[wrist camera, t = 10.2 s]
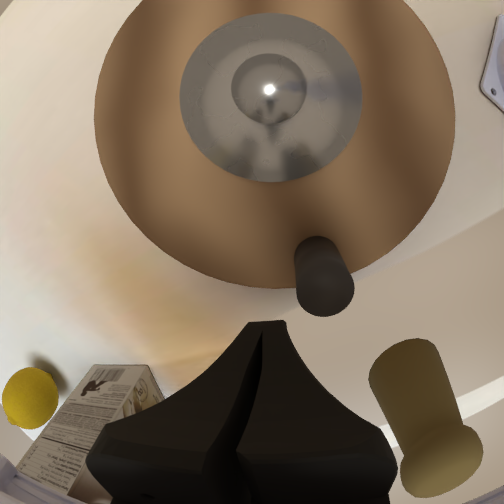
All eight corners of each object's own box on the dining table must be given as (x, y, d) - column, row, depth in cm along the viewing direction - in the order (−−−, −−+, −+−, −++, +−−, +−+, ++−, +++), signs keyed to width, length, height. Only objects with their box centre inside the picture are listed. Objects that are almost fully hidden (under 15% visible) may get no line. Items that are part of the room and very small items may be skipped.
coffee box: (187, 434, 25) (138, 579, 10) (131, 430, 26) (72, 553, 11) (149, 362, 23) (54, 533, 7) (90, 362, 24) (-8, 495, 8)
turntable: (375, -55, 10) (396, -99, 5) (466, 233, 16) (515, 263, 11) (82, 30, 14) (32, 9, 9) (166, 307, 20) (133, 355, 15)
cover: (324, 15, 12) (332, -10, 9) (370, 158, 14) (389, 161, 11) (175, 55, 13) (153, 38, 11) (216, 196, 16) (201, 206, 13)
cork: (450, 362, 20) (505, 462, 10) (394, 406, 22) (425, 513, 11) (414, 324, 19) (480, 441, 9) (352, 376, 21) (378, 503, 11)
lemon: (53, 396, 27) (17, 441, 19) (24, 356, 25) (-18, 399, 18) (80, 393, 25) (42, 446, 18) (48, 349, 24) (1, 398, 16)
